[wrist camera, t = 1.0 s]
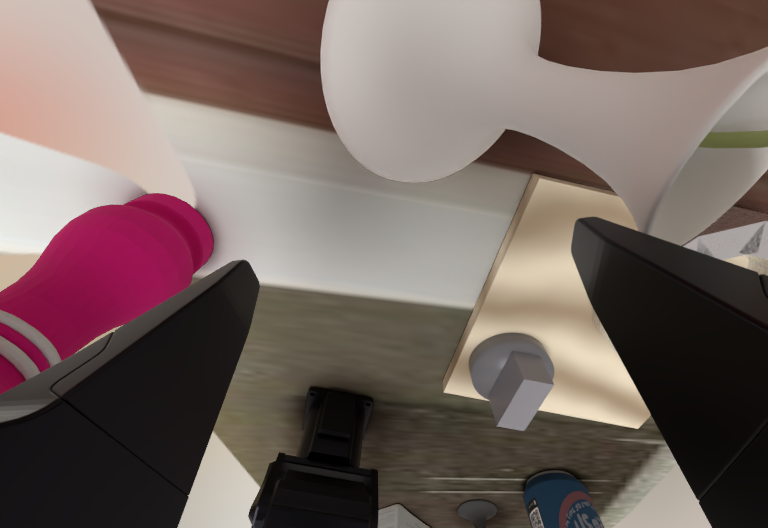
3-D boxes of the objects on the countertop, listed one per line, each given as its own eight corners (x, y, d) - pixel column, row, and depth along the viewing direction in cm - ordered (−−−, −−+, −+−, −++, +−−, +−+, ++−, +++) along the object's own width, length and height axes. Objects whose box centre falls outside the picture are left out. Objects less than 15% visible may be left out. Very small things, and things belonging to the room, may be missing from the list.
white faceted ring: (702, 361, 27) (733, 391, 24) (562, 333, 26) (580, 361, 24) (828, 228, 21) (888, 249, 19) (654, 187, 21) (691, 203, 18)
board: (630, 417, 33) (637, 428, 31) (442, 381, 31) (443, 392, 30) (796, 234, 23) (815, 242, 22) (532, 173, 22) (539, 178, 21)
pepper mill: (102, 194, 24) (-724, 518, 6) (195, 177, 23) (-471, 502, 5) (153, 279, 27) (-292, 641, 10) (235, 268, 26) (-93, 645, 9)
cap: (527, 393, 30) (546, 440, 26) (458, 381, 29) (467, 426, 26) (560, 340, 27) (587, 384, 23) (483, 325, 26) (497, 367, 23)
